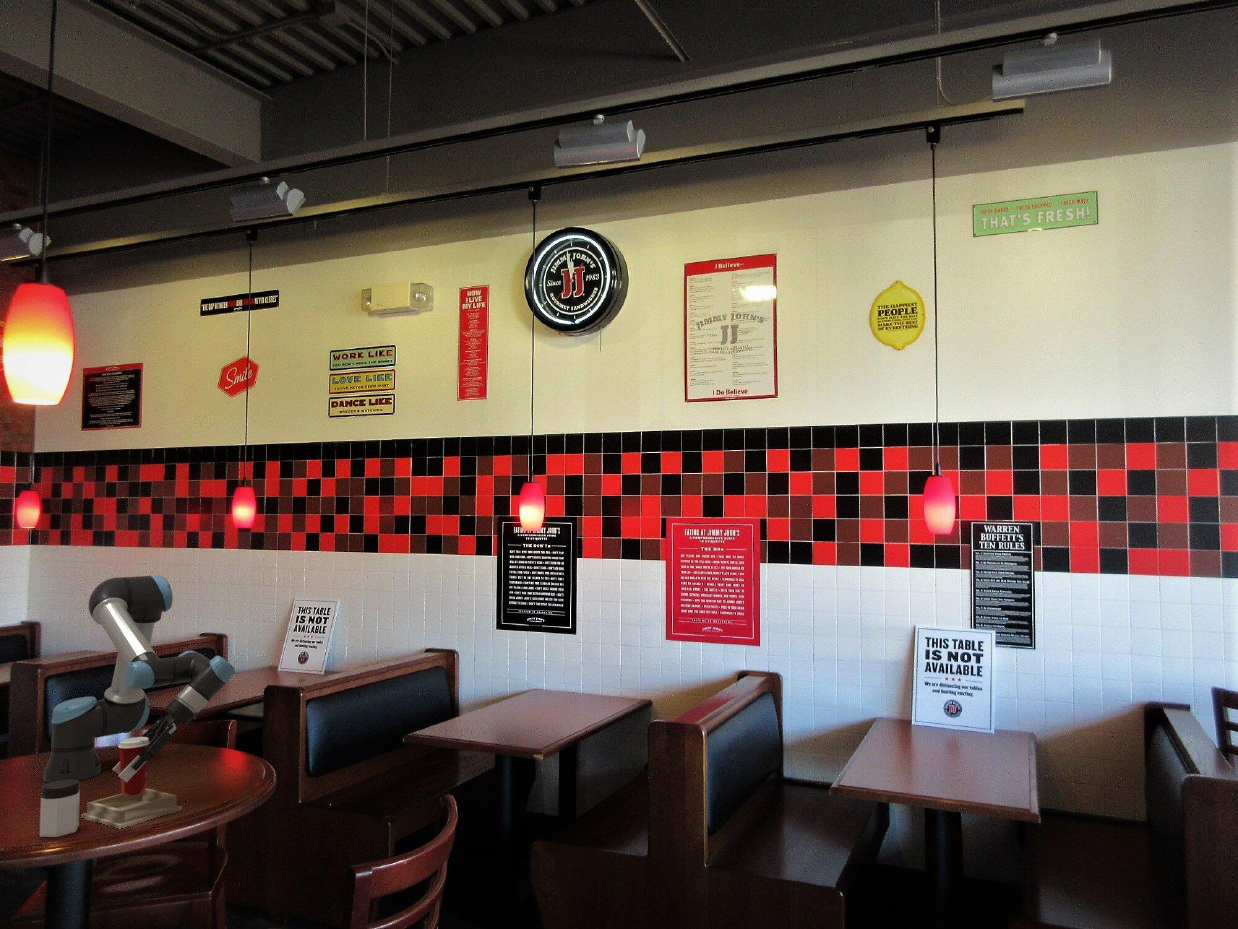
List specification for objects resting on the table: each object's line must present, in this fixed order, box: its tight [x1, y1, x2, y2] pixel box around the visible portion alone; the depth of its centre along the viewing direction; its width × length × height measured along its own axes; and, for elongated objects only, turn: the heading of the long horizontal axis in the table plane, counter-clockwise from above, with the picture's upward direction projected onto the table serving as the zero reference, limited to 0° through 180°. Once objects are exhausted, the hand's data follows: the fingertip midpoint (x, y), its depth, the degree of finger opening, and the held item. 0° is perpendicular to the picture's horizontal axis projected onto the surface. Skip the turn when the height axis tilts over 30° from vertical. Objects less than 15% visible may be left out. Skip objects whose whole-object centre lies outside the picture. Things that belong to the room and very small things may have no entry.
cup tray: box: [80, 787, 183, 830], centre depth 235 cm, size 18×17×4 cm
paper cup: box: [117, 736, 150, 796], centre depth 236 cm, size 8×8×14 cm
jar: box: [39, 779, 81, 838], centre depth 222 cm, size 9×8×12 cm
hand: (119, 775), depth 233 cm, fingers closed on paper cup, 8 cm apart
